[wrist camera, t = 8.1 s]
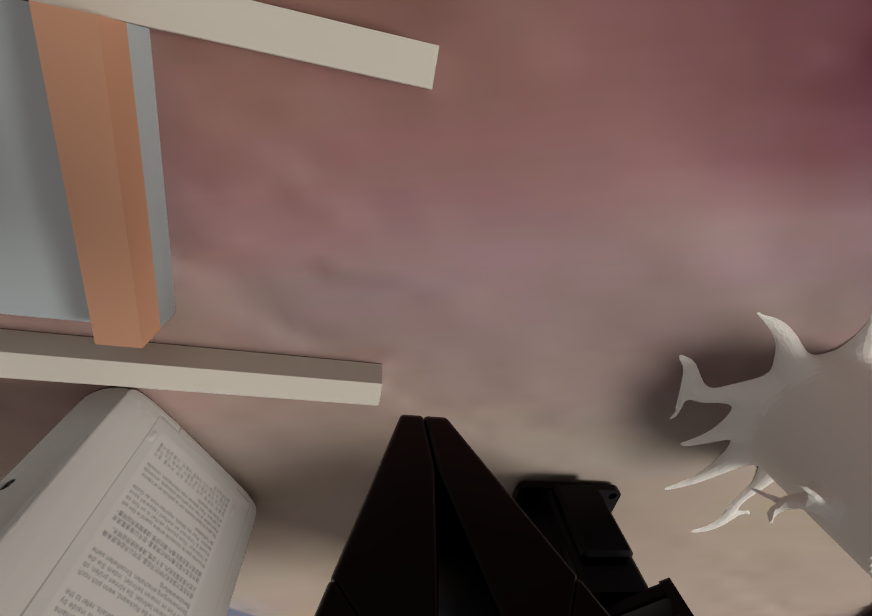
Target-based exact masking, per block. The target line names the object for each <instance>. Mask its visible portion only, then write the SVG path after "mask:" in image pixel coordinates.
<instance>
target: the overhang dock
mask: <svg viewBox="0 0 872 616" xmlns="http://www.w3.org/2000/svg"><path fill="white" fill-rule="evenodd" d="M25 1H29V0H25ZM31 1H36V2H40V3H45V4H50V5H54V6H59V7H64V8H69V9H73V10H78V11H83V12H87V13H92V14H97V15H101V16H104V17H108V18H112V19H115V20H119V21H123V22H127V23H130V24H134V25H138V26H143V27H147V28H152V29H156V30H161V31H165V32H170V33H174V34H179V35H183V36H188V37H192V38H197V39H202V40H206V41H211V42H215V43H220V44H224V45H229V46H233V47H238V48H242V49H247V50H251V51H256V52H260V53H265V54H269V55H274V56H279V57H283V58H288V59H292V60H297V61H301V62H306V63H310V64H315V65H319V66H324V67H328V68H333V69H337V70H342V71H347V72H351V73H356V74H360V75H365V76H369V77H374V78H378V79H383V80H387V81H392V82H396V83H401V84H405V85H410V86H414V87H419V88H424V89H432V86H433V80H434V74H435V68H436V62H437V56H438V50H439V46H438V45H434V44H430V43H425V42H421V41H417V40H413V39H409V38H405V37H401V36H397V35H392V34H388V33H384V32H380V31H376V30H372V29H368V28H364V27H359V26H355V25H351V24H347V23H343V22H339V21H335V20H330V19H326V18H322V17H318V16H314V15H310V14H306V13H302V12H297V11H293V10H289V9H285V8H281V7H277V6H273V5H268V4H264V3H260V2H256V1H252V0H31ZM0 378H13V379H27V380H40V381H54V382H67V383H81V384H94V385H108V386H121V387H135V388H148V389H162V390H175V391H189V392H202V393H216V394H229V395H243V396H257V397H270V398H284V399H297V400H311V401H324V402H338V403H351V404H365V405H378V406H379V400H380V394H381V388H382V364H375V363H364V362H353V361H342V360H332V359H321V358H310V357H299V356H288V355H278V354H267V353H256V352H245V351H235V350H224V349H213V348H202V347H191V346H181V345H170V344H159V343H147V344H146V345H145V346H144V347H143V348H134V347H122V346H110V345H98V344H95V341H94V337H83V336H73V335H62V334H51V333H40V332H30V331H19V330H8V329H0Z"/></svg>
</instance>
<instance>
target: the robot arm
mask: <svg viewBox="0 0 872 616" xmlns="http://www.w3.org/2000/svg"><path fill="white" fill-rule="evenodd" d="M620 495H621V494H620V491H619V490H618V488H617V487H616V486H615V485H605V484H582V483H558V482H535V481H523V482H521V483H519V484H518V485H517V486H516V488H515V491H514V493H513V496H512V497H511V496H510V494H509V493H508V492H507V491H506V490H505V488H504V487H503V486H502V485H501V484H500V482H499V481H498V480H497V479H496V478H495V476H494V475H493V474H492V473H491V471H490V470H489V469H488V468H487V467H486V465H485V464H484V463H483V462H482V461H481V459H480V458H479V457H478V456H477V454H476V453H475V452H474V451H473V450H472V448H471V447H470V446H469V445H468V444H467V442H466V441H465V440H464V439H463V438H462V436H461V435H460V434H459V433H458V431H457V430H456V429H455V428H454V427H453V425H452V424H451V423H450V422H449V421H448V420H447V419H446V418H443V417H429V416H428V417H425V418H424V419H423V418H422V417H421V416H414V415H402V416H401V417H400V418H399V421H398V423H397V425H396V428H395V430H394V432H393V435H392V437H391V439H390V442H389V444H388V446H387V449H386V451H385V453H384V456H383V458H382V460H381V463H380V465H379V467H378V470H377V472H376V474H375V477H374V479H373V481H372V484H371V486H370V488H369V491H368V493H367V495H366V498H365V500H364V502H363V505H362V507H361V509H360V512H359V514H358V516H357V519H356V521H355V523H354V526H353V528H352V530H351V533H350V535H349V537H348V540H347V542H346V544H345V547H344V549H343V551H342V554H341V556H340V558H339V561H338V563H337V565H336V568H335V570H334V572H333V575H332V577H331V582H330V583H329V584H328V586H327V588H326V590H325V593H324V595H323V597H322V600H321V602H320V604H319V607H318V609H317V611H316V613H315V616H694V615H693V614H692V612H691V611H690V609H689V608H688V606H687V605H686V603H685V601H684V600H683V598H682V597H681V595H680V594H679V592H678V590H677V589H676V587H675V586H674V584H673V583H672V581H671V579H670V578H667V579H664V580H661V581H659V584H658V585H655V586H652V587H650V588H648V586H647V584H646V582H645V580H644V579H643V577H642V575H641V573H640V571H639V569H638V567H637V566H636V564H635V562H634V560H633V558H632V555H633V552H632V550H631V548H630V546H629V544H628V543H627V541H626V539H625V537H624V535H623V534H622V532H621V530H620V528H619V526H618V524H617V523H616V521H615V519H614V517H613V515H612V513H611V512H612V510H613V509H614V507H615V505H616V503H617V501H618V499H619V498H620Z"/></svg>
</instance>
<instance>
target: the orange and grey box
mask: <svg viewBox="0 0 872 616" xmlns="http://www.w3.org/2000/svg"><path fill="white" fill-rule="evenodd" d="M175 313H176V306H175V296H174V285H173V275H172V264H171V253H170V243H169V232H168V222H167V211H166V200H165V190H164V179H163V169H162V158H161V147H160V137H159V126H158V116H157V105H156V94H155V84H154V73H153V63H152V52H151V41H150V31H149V28H145V27H141V26H138V25H134V24H130V23H127V22H123V21H119V20H115V19H112V18H108V17H104V16H101V15H97V14H92V13H87V12H83V11H78V10H73V9H69V8H64V7H59V6H54V5H50V4H45V3H40V2H36V1H31V0H29V2H27V1H23V0H0V314H8V315H19V316H30V317H40V318H51V319H62V320H73V321H84V322H91V326H92V331H93V336H94V341H95V344H98V345H110V346H122V347H134V348H143V347H144V346H145V345H146V344H147V343H148V342H149V341H150V340H151V339H152V338H153V337H154V336H155V334H156V333H157V332H158V331H159V330H160V329H161V328H162V327H163V326H164V325H165V324H166V323H167V321H168V320H169V319H170V318H171V317H172V316H173V315H174V314H175Z"/></svg>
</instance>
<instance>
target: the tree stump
mask: <svg viewBox="0 0 872 616" xmlns="http://www.w3.org/2000/svg"><path fill="white" fill-rule="evenodd" d="M757 314H758V315H759V316H760V318H761V319H763V321H764V322H765V323H766V324H767V326H768V327H769V329H770V331H771V333H772V334H773V337H774V339H775V356H774V361H773V365H772V368H771V370H770V371H769V372H768V373H766V374H765V375H763V376H761V377H758V378H755V379H752V380H748V381H744V382H739V383H735V384H731V385H726V386H722V387H718V388H712V387H708V386H707V385H706V384H705V383H704V382H703V380H702V378H701V375H700V373H699V370H698V368H697V365H696V364H695V363H694V361H693V360H692V359H690V358H688V357H686V356H683V355H679V360H680V361H681V364H682V365H683V377H682V381H681V388H680V391H679V396H678V399H677V404H676V407H675V409H676V411H675V413H674V414H673V415H672V416H671V417H670V419H672V418H674V417H676V416H677V414H678V413H679V411H680V410H681V408H682V406H683V403H684V402H685V401H687V400H693V401H697V402H702V403H723V404H728V405H730V406H731V411H730V413H729V414H728V415H727V416H726V417H725V418H724V419H723V420H722V421H721V422H720V423H719V424H718V425H717V426H715V427H714V428H713V429H711V430H710V431H708V432H706V433H704V434H702V435H700V436H698V437H695V438H693V439H690V440H688V441H685V442H682V443H680V445H682V446H693V445H700V444H706V443H712V442H717V441H722V440H730V444H729V445H728V447H727V448H726V450H725V451H724V452H723V453H722V454H721V456H720V457H719V458H718V459H717V460H715V461H714V462H713V463H712V464H711V465H710V466H708V467H707V468H705V469H704V470H702V471H701V472H699V473H698V474H696V475H694V476H692V477H690V478H689V479H686V480H684V481H682V482H679V483H677V484H674V485H671V486H668V487H666V488H665V490H670V489H676V488H680V487H684V486H687V485H692V484H695V483H698V482H701V481H704V480H707V479H710V478H712V477H715V476H718V475H720V474H723V473H725V472H728V471H731V470H733V469H736V468H739V467H742V466H747V465H756V466H758V470H757V473H756V475H755V478H754V479H753V481H752V483H751V484H750V485H749V486H748V487H747V488H746V489H745V490H744V491H743V492H742V493H741V494H740V495H739V496H738V497H737V498H736V499H735V500H734V501H733V502H732V503H731V504H730V505H729V507H728V508H727V509H726V511H725V512H724V513H723V514H722V515H721V517H720V518H718V519H717V520H716V521H714V522H713V523H711V524H709V525H707V526H704V527H702V528H698V529H695V530H692V531H691V532H695V533H696V532H705V531H709V530H712V529H715V528H718V527H720V526H722V525H724V524H726V523H727V522H729V521H730V520H732V519H734V518H735V517H737V516H739V515H741V514H744V513H746V514H749V512H750V511H748V510H747V511H739V510H738V508H739V507H740V506H741V504H742V503H743V502H745V501H746V500H747V499H748V498H750V497H751V496H752V495H754V494H756V493H759V494H761V495H763V496H765V497H767V498H769V499H771V500H773V501H774V502H776V504H775V505H774V506H772V507H771V508H770V509H769V511H768V512H767V514H768V518H769V522H770V523H772V522H773V519H774V517H775V516H776V515H777V514H779V513H780V512H782V511H785V510H790V509H798V508H800V509H803V510H804V511H805V512H806V513H807V514H808V515H809V516H810V517H811V518H812V519H813V520H814V521H815V522H816V523H817V524H818V525H819V526H820V527H821V528H822V529H823V530H824V531H826V532H827V533H828V534H829V535H830V536H831V537H832V538H833V539H834V540H835V541H836V542H837V543H838V544H839V545H840V546H841V547H842V548H843V549H844V550H845V551H846V552H847V553H848V554H849V555H850V556H851V557H852V558H853V559H854V560H855V561H856V562H857V563H858V564H859V565H860V566H861V567H862V568H863V569H864V570H865V571H866V572H867V573H868V574H869V575H870V576H871V577H872V314H871V316H870V318H869V320H868V322H867V323H866V324H865V325H864V327H863V328H862V329H861V330H860V331H859V332H858V333H857V334H856V335H855V336H854V337H853V338H852V339H850V340H849V341H848V342H847V343H845V344H844V345H843V346H841V347H840V348H838V349H836V350H834V351H831V352H828V353H824V354H819V355H813V354H810V353H808V352H807V351H806V350H805V348H804V347H803V345H802V344H801V342H800V340H799V338H798V337H797V335H796V334H795V333H794V332H793V330H792V329H791V328H790V327H789V326H788V325H787V324H786V323H784V322H782V321H780V320H778V319H776V318H774V317H770V316H766V315H762V314H761V313H759V312H757ZM773 481H775V482H776V483H777V484H778V485H779V486H780V487H781V488H782V489H783V490H784V491H785V492H786V493H787V494H788V495H787V496H784V497H782V498H779V497H776V496H773V495H770V494H766V493H764V492H762V491H760V490H762V489H763V488H765V487H766V486H768V485H769V484H770V483H772V482H773Z"/></svg>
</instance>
